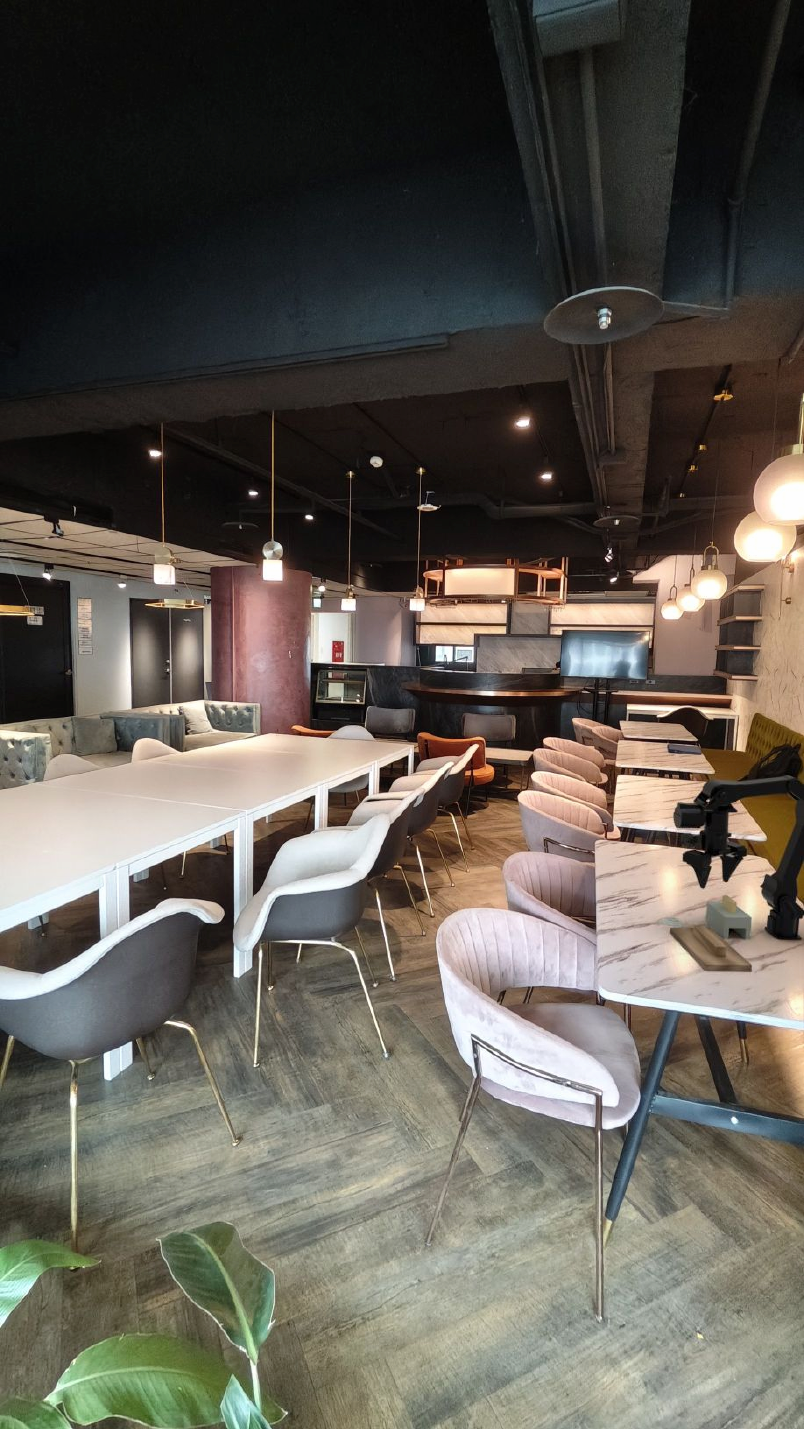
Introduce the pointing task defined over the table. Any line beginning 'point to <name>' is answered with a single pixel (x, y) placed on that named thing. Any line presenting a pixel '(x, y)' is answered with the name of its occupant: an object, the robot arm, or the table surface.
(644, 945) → the table surface
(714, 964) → the cleat board
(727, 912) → the cabinet block
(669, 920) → the mounting bracket
